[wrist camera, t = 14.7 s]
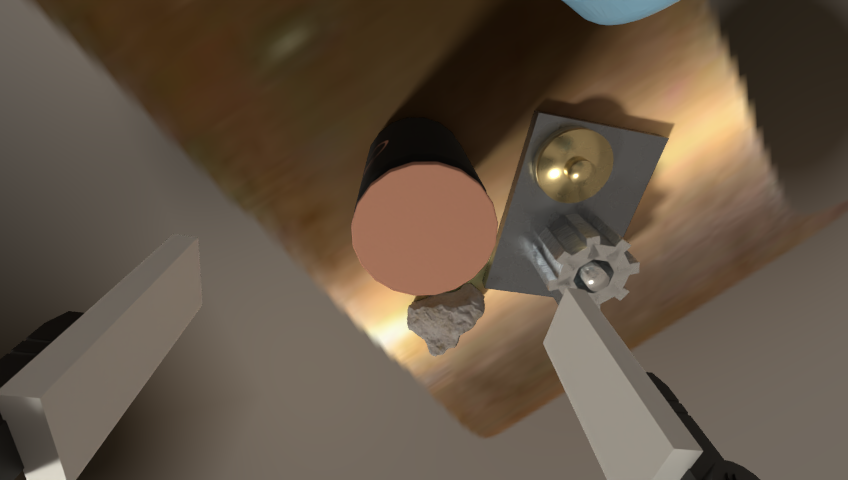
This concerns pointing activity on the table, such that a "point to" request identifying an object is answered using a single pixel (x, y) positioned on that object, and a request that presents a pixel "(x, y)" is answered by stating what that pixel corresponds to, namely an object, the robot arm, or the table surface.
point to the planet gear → (584, 258)
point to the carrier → (569, 193)
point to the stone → (445, 317)
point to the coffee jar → (422, 211)
